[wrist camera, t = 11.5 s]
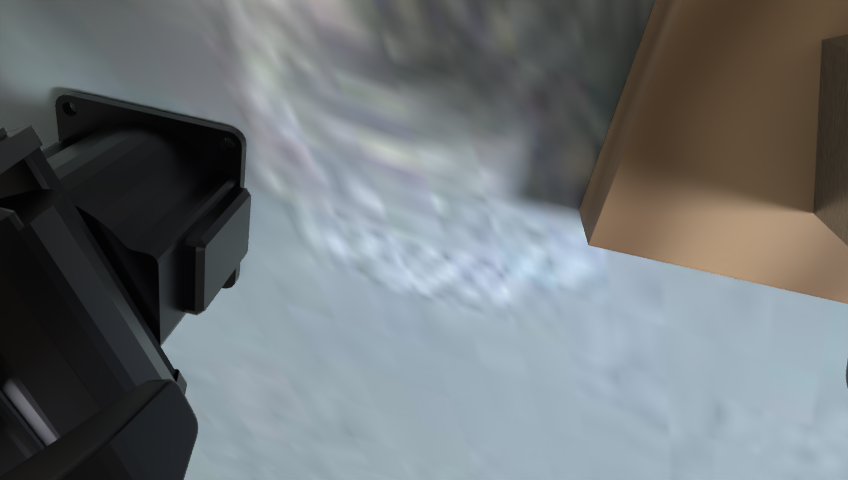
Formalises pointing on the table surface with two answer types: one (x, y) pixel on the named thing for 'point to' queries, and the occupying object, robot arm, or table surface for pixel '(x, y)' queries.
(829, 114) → the yellow grey tall block
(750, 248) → the walnut plinth
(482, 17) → the table surface
